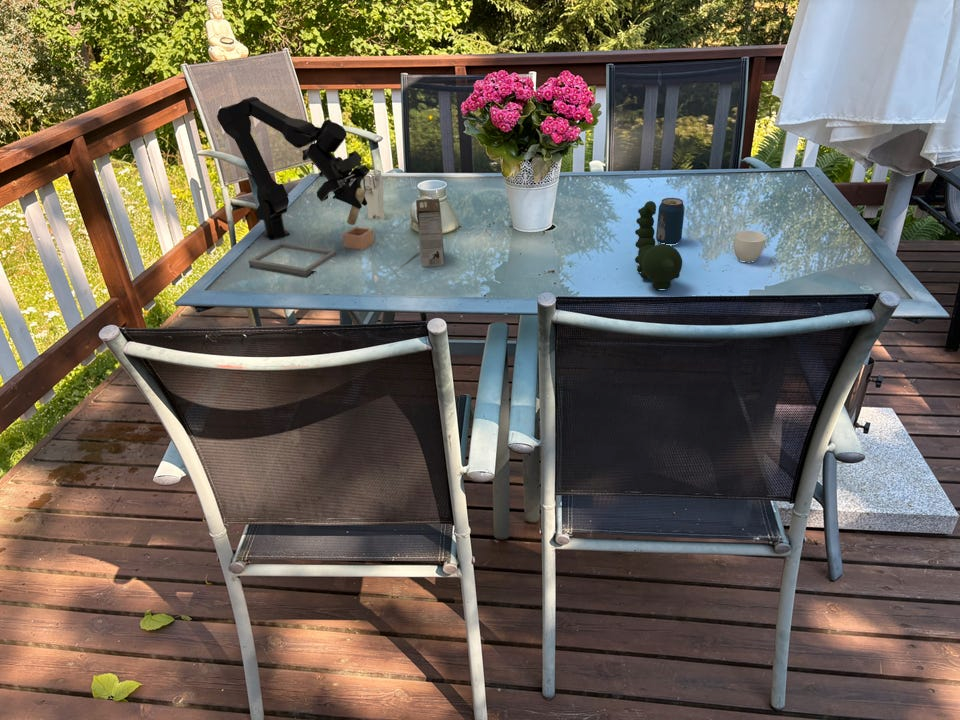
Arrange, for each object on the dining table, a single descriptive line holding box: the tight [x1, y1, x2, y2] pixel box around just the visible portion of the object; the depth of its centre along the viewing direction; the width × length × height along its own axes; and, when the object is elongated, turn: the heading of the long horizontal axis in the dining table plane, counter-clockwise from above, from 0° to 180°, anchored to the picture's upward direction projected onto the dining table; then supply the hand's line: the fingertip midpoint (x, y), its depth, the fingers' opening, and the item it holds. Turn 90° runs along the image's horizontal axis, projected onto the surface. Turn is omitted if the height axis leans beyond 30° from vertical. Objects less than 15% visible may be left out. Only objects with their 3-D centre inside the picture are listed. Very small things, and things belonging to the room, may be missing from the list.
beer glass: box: [361, 169, 387, 221], centre depth 222 cm, size 7×7×15 cm
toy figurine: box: [634, 200, 683, 290], centre depth 174 cm, size 9×19×25 cm
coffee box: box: [415, 198, 445, 268], centre depth 191 cm, size 9×6×16 cm
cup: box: [733, 230, 767, 262], centre depth 185 cm, size 8×10×7 cm
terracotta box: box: [342, 226, 375, 251], centre depth 204 cm, size 6×6×5 cm
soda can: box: [655, 197, 686, 244], centre depth 195 cm, size 7×7×12 cm
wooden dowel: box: [346, 188, 366, 226], centre depth 198 cm, size 6×2×11 cm, turn 64°
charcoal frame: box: [247, 241, 338, 278], centre depth 198 cm, size 20×14×2 cm
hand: (363, 206), depth 196 cm, fingers closed on wooden dowel, 2 cm apart
